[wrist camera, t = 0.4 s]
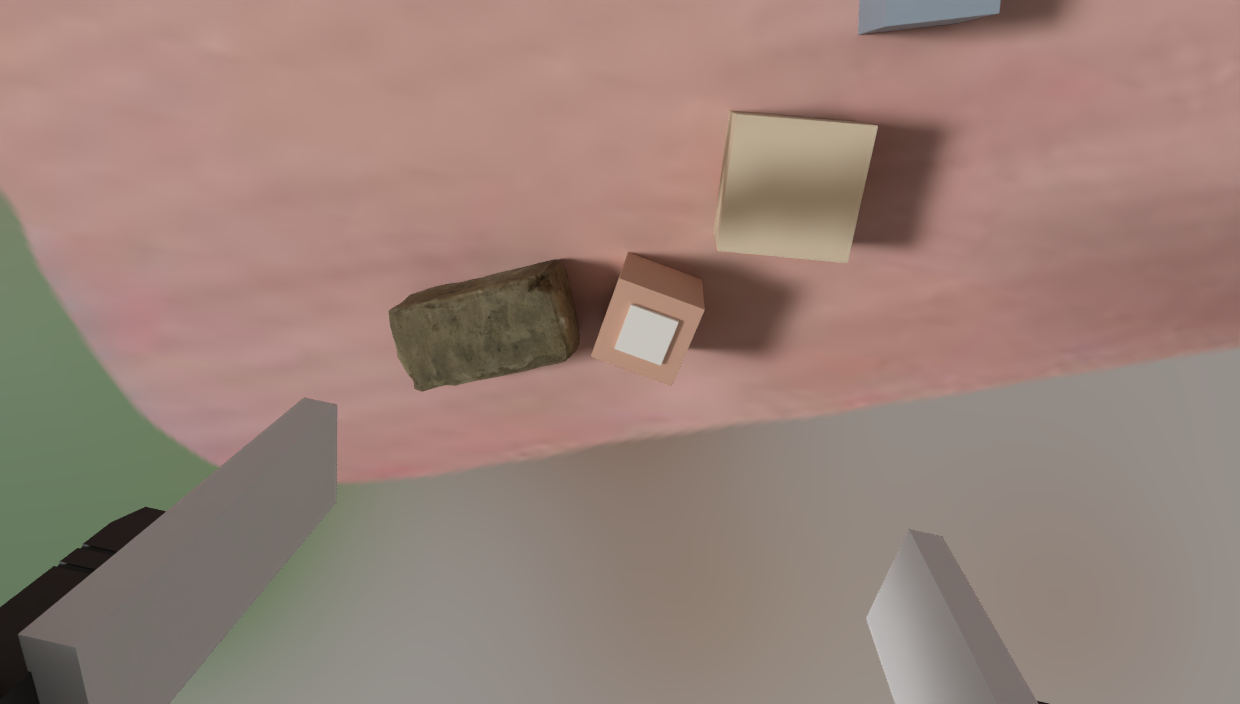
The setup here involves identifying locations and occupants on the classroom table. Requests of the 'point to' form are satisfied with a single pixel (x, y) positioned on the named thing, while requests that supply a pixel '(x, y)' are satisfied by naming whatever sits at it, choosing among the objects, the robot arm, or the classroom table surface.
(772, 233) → the oak block
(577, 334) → the stone block
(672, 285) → the terracotta block
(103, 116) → the classroom table surface
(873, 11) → the slate block
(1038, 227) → the classroom table surface
